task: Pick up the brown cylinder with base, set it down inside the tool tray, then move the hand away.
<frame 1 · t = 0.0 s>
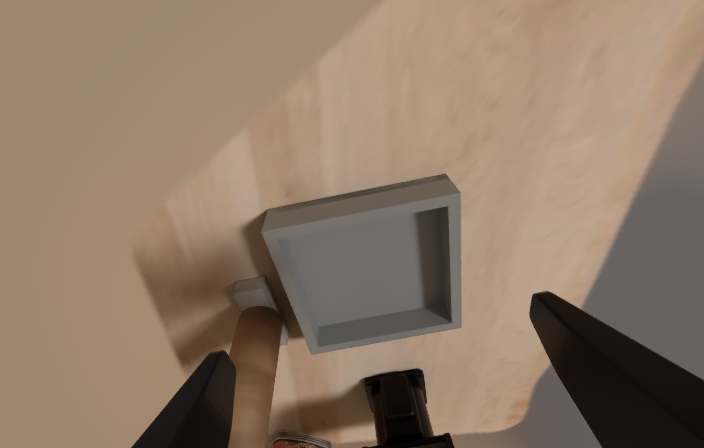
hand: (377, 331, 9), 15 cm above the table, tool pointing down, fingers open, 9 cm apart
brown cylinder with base: (264, 307, 29), on the table
lighter: (302, 438, 42), on the table
tool tray: (369, 261, 27), on the table
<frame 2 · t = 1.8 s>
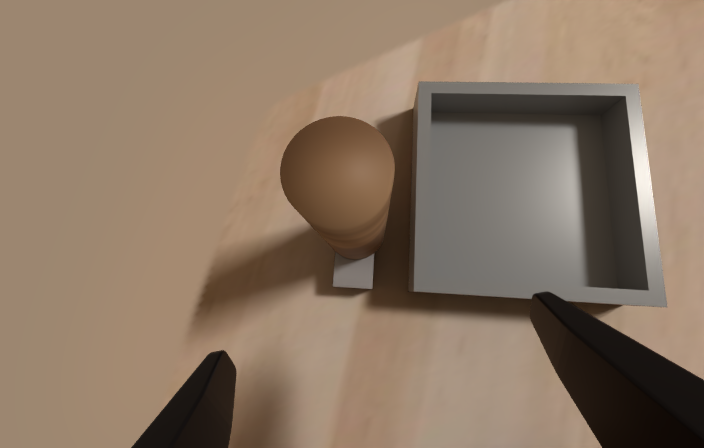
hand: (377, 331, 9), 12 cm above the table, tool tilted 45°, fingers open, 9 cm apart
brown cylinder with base: (357, 235, 22), on the table
tool tray: (509, 198, 22), on the table
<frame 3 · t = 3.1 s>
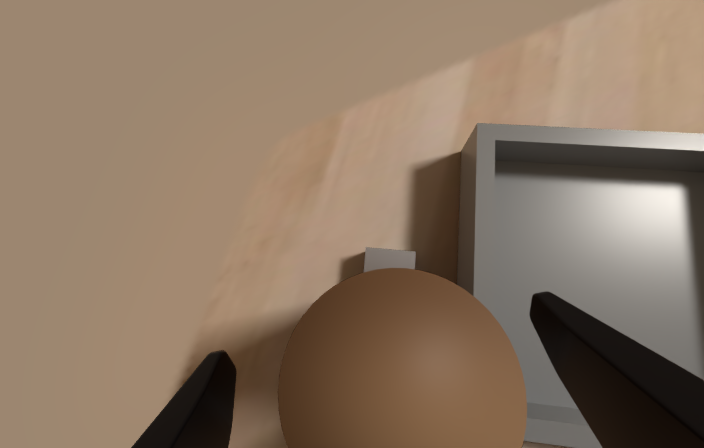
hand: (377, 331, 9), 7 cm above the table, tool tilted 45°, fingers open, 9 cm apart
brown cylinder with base: (384, 321, 16), on the table
tool tray: (592, 281, 16), on the table
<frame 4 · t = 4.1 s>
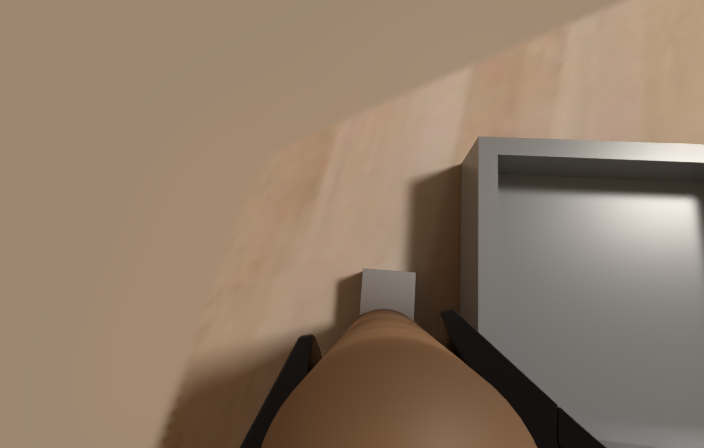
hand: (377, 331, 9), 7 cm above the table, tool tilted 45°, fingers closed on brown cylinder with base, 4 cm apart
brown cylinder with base: (384, 346, 16), on the table, touching gripper
tool tray: (602, 299, 15), on the table
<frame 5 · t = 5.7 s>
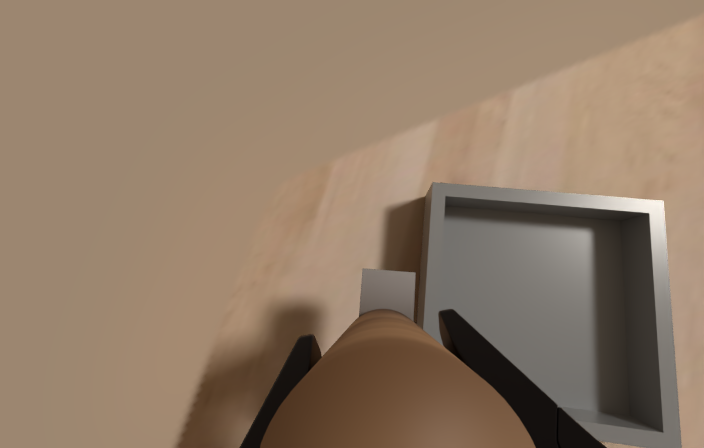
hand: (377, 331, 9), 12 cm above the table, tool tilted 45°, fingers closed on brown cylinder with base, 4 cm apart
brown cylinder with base: (383, 346, 16), point 6 cm above the table, touching gripper
tool tray: (521, 301, 21), on the table
when the fingers open (9 cm above the table, at t = 7.4 s): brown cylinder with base drops 1 cm, resting on tool tray.
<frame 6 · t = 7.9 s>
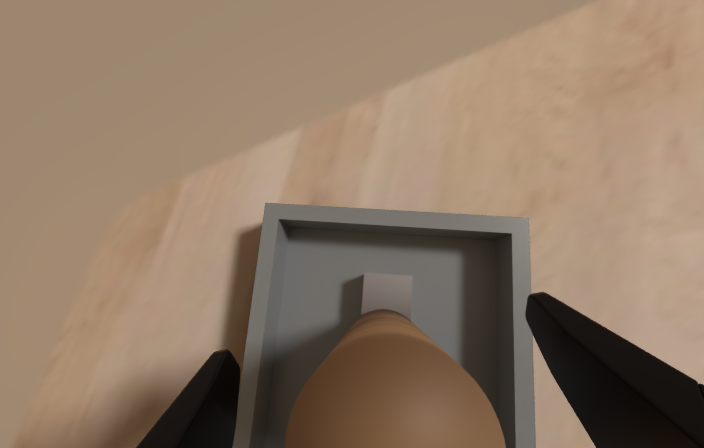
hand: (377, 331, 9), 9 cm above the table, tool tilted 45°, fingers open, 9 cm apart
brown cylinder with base: (383, 343, 17), point 1 cm above the table, touching tool tray
tool tray: (383, 338, 18), on the table
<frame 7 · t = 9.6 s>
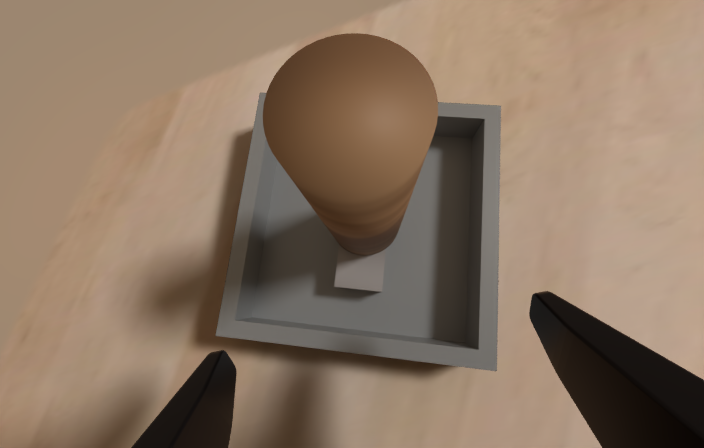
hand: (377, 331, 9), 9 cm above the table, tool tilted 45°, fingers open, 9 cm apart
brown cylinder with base: (365, 226, 18), point 1 cm above the table, touching tool tray
tool tray: (366, 227, 19), on the table
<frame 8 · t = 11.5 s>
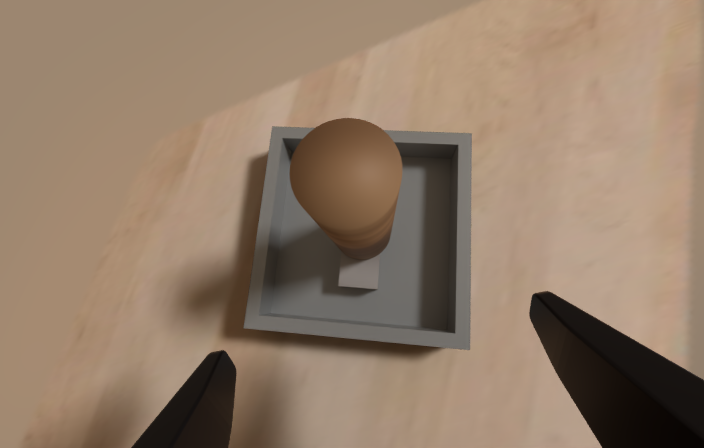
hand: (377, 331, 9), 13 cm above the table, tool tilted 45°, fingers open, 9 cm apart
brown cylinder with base: (363, 235, 22), point 1 cm above the table, touching tool tray
tool tray: (363, 235, 23), on the table
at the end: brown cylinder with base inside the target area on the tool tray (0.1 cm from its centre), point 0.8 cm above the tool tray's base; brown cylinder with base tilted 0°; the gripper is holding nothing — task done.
